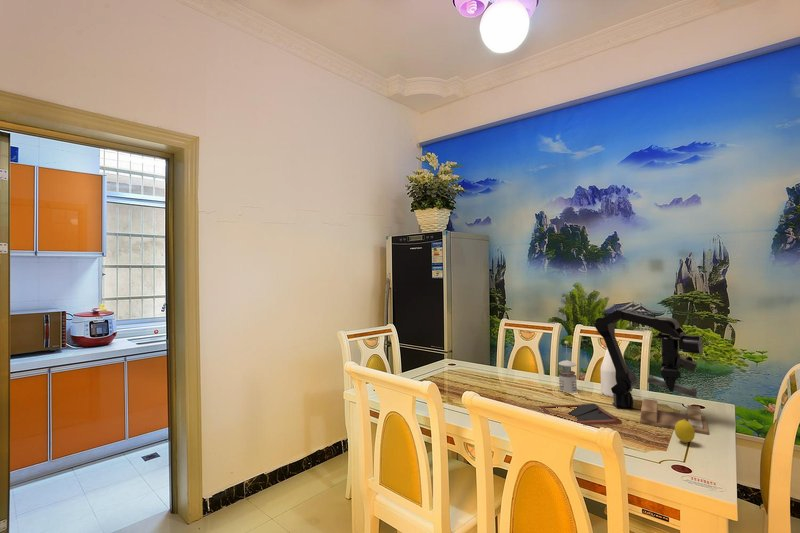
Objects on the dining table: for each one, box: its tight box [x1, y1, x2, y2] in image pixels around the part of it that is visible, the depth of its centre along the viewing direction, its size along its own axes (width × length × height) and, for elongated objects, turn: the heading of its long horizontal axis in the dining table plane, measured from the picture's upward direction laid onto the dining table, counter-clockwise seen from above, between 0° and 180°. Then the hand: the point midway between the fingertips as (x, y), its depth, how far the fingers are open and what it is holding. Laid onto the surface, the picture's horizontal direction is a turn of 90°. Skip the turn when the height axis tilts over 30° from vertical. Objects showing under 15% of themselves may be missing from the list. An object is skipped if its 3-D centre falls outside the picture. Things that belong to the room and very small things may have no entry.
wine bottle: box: [600, 348, 617, 398], centre depth 189 cm, size 10×10×30 cm
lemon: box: [674, 419, 696, 444], centre depth 136 cm, size 6×6×8 cm
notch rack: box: [639, 398, 709, 435], centre depth 155 cm, size 21×17×5 cm
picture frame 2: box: [647, 374, 698, 398], centre depth 158 cm, size 16×5×2 cm, turn 56°
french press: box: [558, 340, 579, 393], centre depth 196 cm, size 10×12×25 cm
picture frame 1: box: [537, 403, 623, 426], centre depth 164 cm, size 20×2×25 cm
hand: (671, 389), depth 158 cm, fingers closed on picture frame 2, 5 cm apart
